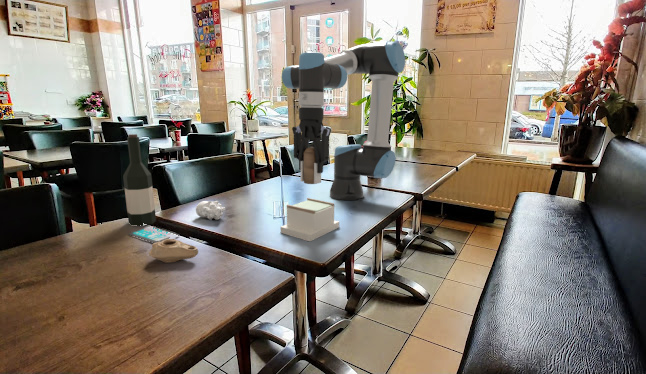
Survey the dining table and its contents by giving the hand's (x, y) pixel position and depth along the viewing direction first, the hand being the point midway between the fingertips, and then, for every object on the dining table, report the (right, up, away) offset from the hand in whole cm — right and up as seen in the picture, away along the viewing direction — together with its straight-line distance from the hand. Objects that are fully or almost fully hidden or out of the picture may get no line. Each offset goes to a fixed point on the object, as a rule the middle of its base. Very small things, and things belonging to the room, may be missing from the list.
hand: (310, 181), depth 111 cm
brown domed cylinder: (0, 0, 0) cm, 0 cm away
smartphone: (-49, -17, -3) cm, 52 cm away
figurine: (-36, -13, +14) cm, 41 cm away
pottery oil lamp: (-35, -21, -19) cm, 45 cm away
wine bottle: (-58, -14, +9) cm, 61 cm away
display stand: (0, -16, +4) cm, 16 cm away
